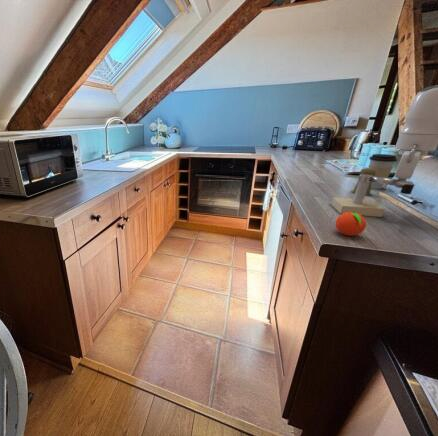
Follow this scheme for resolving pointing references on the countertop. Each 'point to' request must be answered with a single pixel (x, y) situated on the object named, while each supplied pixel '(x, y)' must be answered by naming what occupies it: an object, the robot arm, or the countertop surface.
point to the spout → (388, 182)
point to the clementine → (350, 223)
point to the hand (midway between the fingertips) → (398, 187)
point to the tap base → (358, 203)
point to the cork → (373, 173)
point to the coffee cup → (381, 167)
